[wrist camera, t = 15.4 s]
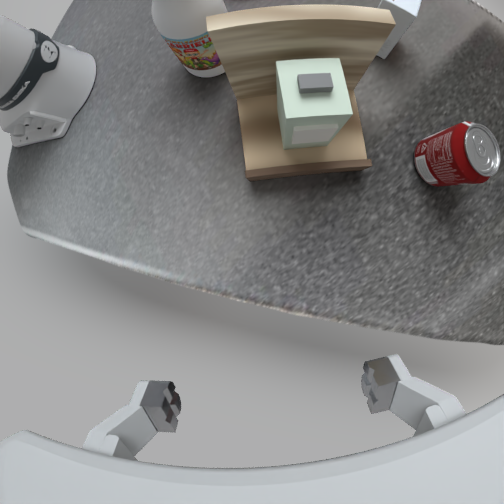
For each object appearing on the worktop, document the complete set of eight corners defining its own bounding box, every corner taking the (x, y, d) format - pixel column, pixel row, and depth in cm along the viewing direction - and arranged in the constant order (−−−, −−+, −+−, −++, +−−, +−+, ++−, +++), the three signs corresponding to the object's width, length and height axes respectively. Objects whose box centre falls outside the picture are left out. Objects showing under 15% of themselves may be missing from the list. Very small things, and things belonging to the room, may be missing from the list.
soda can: (420, 191, 32) (472, 188, 21) (405, 142, 32) (452, 120, 20) (455, 181, 32) (509, 176, 20) (441, 135, 31) (492, 115, 19)
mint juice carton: (283, 153, 31) (287, 119, 18) (277, 109, 30) (275, 55, 17) (327, 149, 30) (357, 115, 17) (319, 105, 29) (341, 52, 16)
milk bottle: (182, 43, 32) (122, -41, 12) (234, 30, 31) (203, -68, 11) (187, 85, 33) (115, 3, 13) (243, 72, 32) (211, -30, 12)
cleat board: (361, 170, 33) (431, 142, 15) (249, 181, 34) (220, 156, 17) (345, 87, 31) (389, 9, 13) (238, 96, 33) (206, 16, 15)
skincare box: (385, 60, 30) (416, 18, 18) (358, 46, 30) (381, -2, 18) (395, 36, 29) (424, -7, 17) (369, 22, 29) (392, -24, 17)
